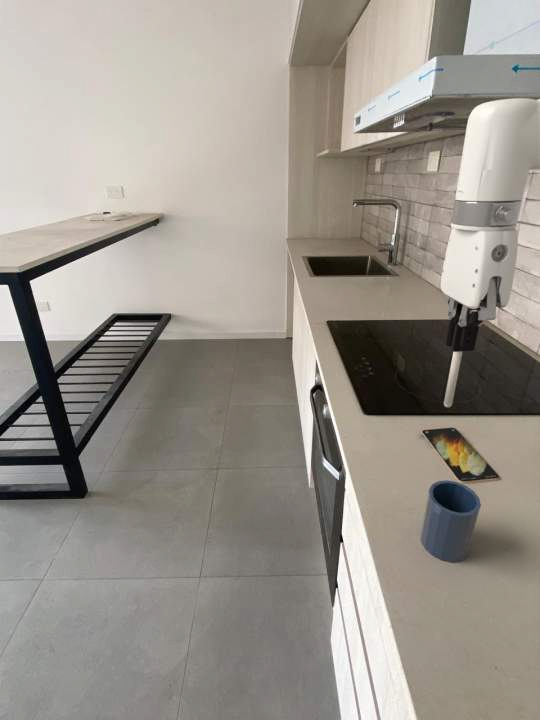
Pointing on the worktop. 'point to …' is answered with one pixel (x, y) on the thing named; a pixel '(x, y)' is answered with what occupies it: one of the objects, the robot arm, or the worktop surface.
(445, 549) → the pen pot
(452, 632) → the worktop surface
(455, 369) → the stylus
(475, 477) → the smartphone
